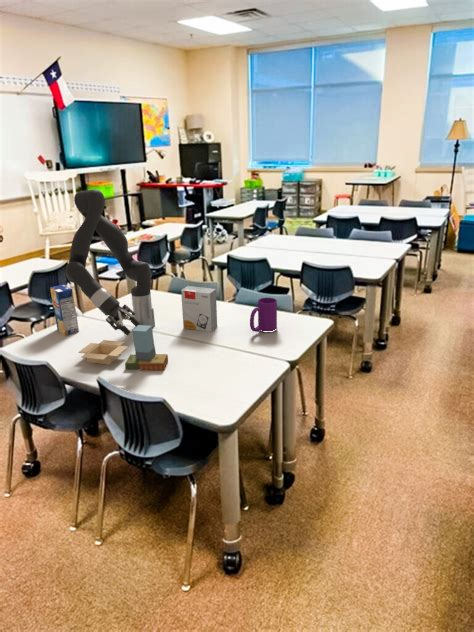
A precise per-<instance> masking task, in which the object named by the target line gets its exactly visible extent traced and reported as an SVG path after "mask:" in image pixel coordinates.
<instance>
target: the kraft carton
mask: <svg viewBox="0 0 474 632" xmlns="http://www.w3.org/2000/svg"><path fill="white" fill-rule="evenodd" d="M124 343H125V341H118V340H108V339H107V340H106V339H103V340H102V341H100V342H99V343H97V342H96V343H95V342H90V343H88V344H87V345H86V346H85V347H83V348H82V349H80V350H78V354H83V355H82V356H81V359H87V363H90V364H99V365H100V364H101V365H111V364H112V363H113V362H114V361H116V360H117V359H118V358H120V356H122V354H123V352H124V351H126V350H127V349H128V348H129V346H128V345H127V346H126V345H124Z"/></svg>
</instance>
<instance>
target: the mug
mask: <svg viewBox="0 0 474 632" xmlns="http://www.w3.org/2000/svg"><path fill="white" fill-rule="evenodd" d="M256 313H257V323H258V324H257V326H255V316H256ZM249 316H250V318H249V327H250V330H251V331H252V332H256V333H257V332H261V331H260V330H262V331H273V330H275V329H277V330H278V321H277V320H278V299H276V298H275V297H274V298H273V297H262V298H259V299H258V301H257V307H255V308H253V310H251V312H250V315H249Z"/></svg>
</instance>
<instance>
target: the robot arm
mask: <svg viewBox="0 0 474 632" xmlns="http://www.w3.org/2000/svg"><path fill="white" fill-rule="evenodd" d="M73 197H74V198H73V201H74V204H75V207H76V209H77V210H78V211H79V213H80V214H81V215H82V216H83V217H84V218H85V219H84V220H83V222H82V223H81V225H80V226H79V228H78V229H77V230H76V232H75V233H74V236H73V238H72V242H71V247H70V250H69V261H68V263H67V264H66V266H65V269H64V271H65V272H64V273H65V276H66V279H67V280H68V281H69V282H70V283H73V284H76V285H77V286H78V287H79V289H80V290H81V292H82V293H83V294H84V296H86V297H87V298H88V299H89V300H90V301H91V302H92V304H93V305H94V306H95V307H96V308H98V310H100V312H101V313H103V315H104V316H106V319H105V321H106V322H107V323H108V324H109V325H110V327H112V328H113V329H114V331H117V330H119V331H121V332H122V333H123V334H124V335H126V336H129V335H130V334H131V333H132V330H130V329H129V328H128V327H127V326H126V325H124V322H123V320H127V321H130V323H131V324H132V325H133V326H134V328H135V327H137V326H138V325H146V326H152V328H154V327H156V322H155V321H156V318H155V312H154V309H155V308H154V307H153V303H152V295H151V289H152V272H151V266H150V265H149V263H147V262H144V261H140V260H136V259H134V257H133V256H132V255H131V253H130V252H129V243H128V239H127V237H126V235H125V234H124V233H123V231H122V229H121V228H120V227H119V226H118V225H116V224H115V223H114V222H112V221H111V220H109V219H108V218H106V217H105V216H103V215H102V214H103V211H104V209H105V205H106V200H105V199H106V198H105V195H104V193H103V191H101V190H100V189H88V190H87V189H86V190H81V191H77V192H76V193H75V194H74V196H73ZM95 232H96V233H97V234H98V235H99V237H100V238H101V240H102V241H103V242H104V244H105V245H106V246H107V248H108V249H109V251H110V252H111V253H112V255H113V257H114V258H115V259H116V260H117V262H118V264H119V265H120V267H121V269H122V271H123V273H124V274H125V276H126V277H127V278H129V279H130V280H133V281H136V285H135V286H134V287H131V289H130V292H131V293H130V294H131V302H132V309H131V307H129V306H128V305H127V304H123V306H120V301H119V300H118V299H117V298H115V296H113V294H112V293H110V292H109V290H107V289H106V288H105V287H103V285H101V284H100V283H99V282H98V281H97V280H96V279H95V278H94V277H93V275H92V274H91V273H90V271H88V269H87V268H86V265H87V259H88V256H89V253H90V249H91V244H92V240H93V236H94V234H95Z"/></svg>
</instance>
